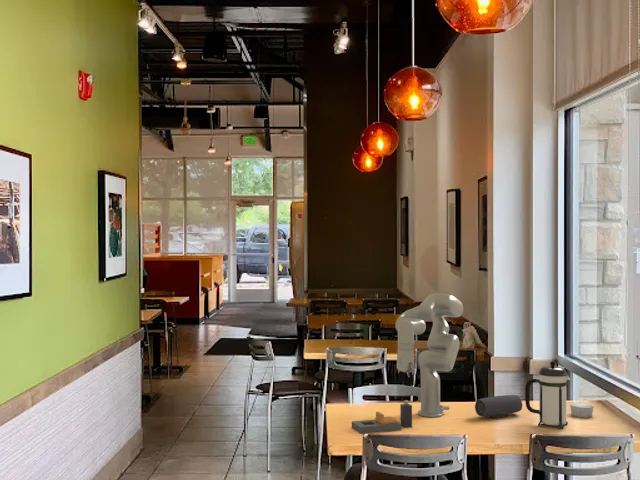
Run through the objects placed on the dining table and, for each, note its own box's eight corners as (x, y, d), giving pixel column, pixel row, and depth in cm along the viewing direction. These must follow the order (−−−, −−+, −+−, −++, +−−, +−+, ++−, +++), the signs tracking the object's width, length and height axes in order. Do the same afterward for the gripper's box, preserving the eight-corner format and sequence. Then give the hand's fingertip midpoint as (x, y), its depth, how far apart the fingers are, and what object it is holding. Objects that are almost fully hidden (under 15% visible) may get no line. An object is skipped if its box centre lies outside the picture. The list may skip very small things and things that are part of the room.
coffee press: (558, 420, 342) (558, 357, 342) (576, 429, 326) (575, 363, 326) (524, 422, 339) (524, 359, 339) (540, 430, 323) (540, 364, 324)
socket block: (391, 424, 336) (391, 417, 336) (401, 430, 325) (401, 423, 325) (351, 427, 330) (351, 421, 330) (360, 434, 319) (360, 427, 319)
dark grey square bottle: (408, 425, 335) (408, 399, 335) (412, 427, 331) (411, 401, 331) (400, 425, 334) (400, 400, 334) (404, 427, 330) (404, 401, 330)
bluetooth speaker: (510, 411, 360) (510, 392, 360) (523, 416, 351) (523, 395, 351) (474, 416, 350) (473, 396, 350) (486, 421, 342) (486, 400, 342)
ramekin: (586, 419, 345) (586, 408, 345) (565, 415, 353) (565, 404, 353) (598, 415, 352) (598, 404, 352) (577, 411, 360) (576, 401, 360)
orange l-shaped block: (390, 418, 334) (390, 410, 334) (397, 422, 327) (397, 414, 327) (375, 420, 332) (375, 411, 332) (381, 424, 324) (381, 415, 324)
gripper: (391, 344, 339) (391, 380, 339) (406, 349, 323) (406, 387, 323) (405, 343, 342) (405, 379, 342) (421, 348, 325) (421, 386, 325)
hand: (405, 383), depth 332 cm, fingers open, 9 cm apart
